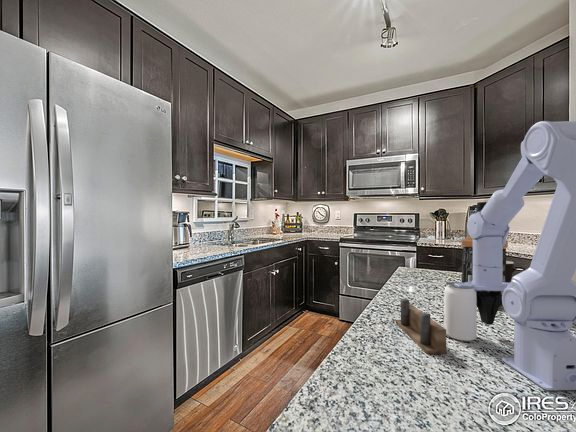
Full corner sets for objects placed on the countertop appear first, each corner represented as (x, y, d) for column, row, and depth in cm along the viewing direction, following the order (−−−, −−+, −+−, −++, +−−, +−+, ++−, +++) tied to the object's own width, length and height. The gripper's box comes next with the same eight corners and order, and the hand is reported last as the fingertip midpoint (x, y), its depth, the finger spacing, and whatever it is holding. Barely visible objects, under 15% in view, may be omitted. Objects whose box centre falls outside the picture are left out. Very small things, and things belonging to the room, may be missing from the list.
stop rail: (446, 353, 58) (446, 319, 57) (426, 354, 57) (426, 320, 57) (410, 322, 74) (410, 296, 73) (395, 322, 73) (395, 296, 73)
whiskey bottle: (510, 304, 87) (511, 201, 87) (489, 308, 83) (490, 201, 83) (477, 295, 97) (477, 202, 96) (457, 298, 93) (457, 202, 93)
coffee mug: (479, 286, 108) (479, 260, 108) (495, 284, 110) (496, 259, 110) (511, 294, 97) (511, 266, 96) (528, 292, 99) (529, 264, 99)
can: (481, 343, 62) (482, 289, 62) (449, 340, 63) (449, 288, 63) (469, 331, 68) (469, 282, 68) (440, 329, 69) (440, 280, 69)
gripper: (504, 261, 70) (504, 316, 70) (446, 262, 69) (446, 316, 70) (529, 267, 63) (528, 327, 63) (465, 268, 62) (464, 328, 63)
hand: (487, 322), depth 66 cm, fingers closed
